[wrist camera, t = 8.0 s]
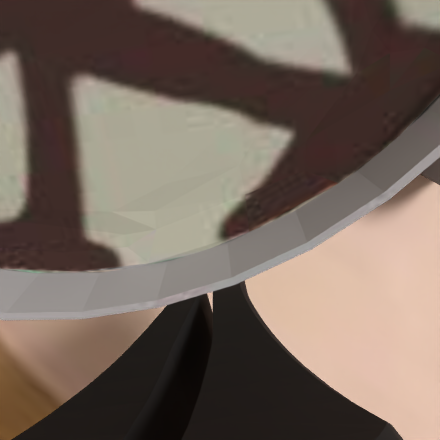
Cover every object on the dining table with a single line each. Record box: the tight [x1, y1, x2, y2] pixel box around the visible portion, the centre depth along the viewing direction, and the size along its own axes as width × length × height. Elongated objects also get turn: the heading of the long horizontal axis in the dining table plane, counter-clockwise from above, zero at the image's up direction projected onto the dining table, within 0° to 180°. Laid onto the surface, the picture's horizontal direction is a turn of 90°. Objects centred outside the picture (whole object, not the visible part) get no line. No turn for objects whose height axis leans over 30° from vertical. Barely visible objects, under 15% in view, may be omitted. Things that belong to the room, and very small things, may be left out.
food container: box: [0, 0, 440, 320], centre depth 8 cm, size 12×6×10 cm, turn 97°
